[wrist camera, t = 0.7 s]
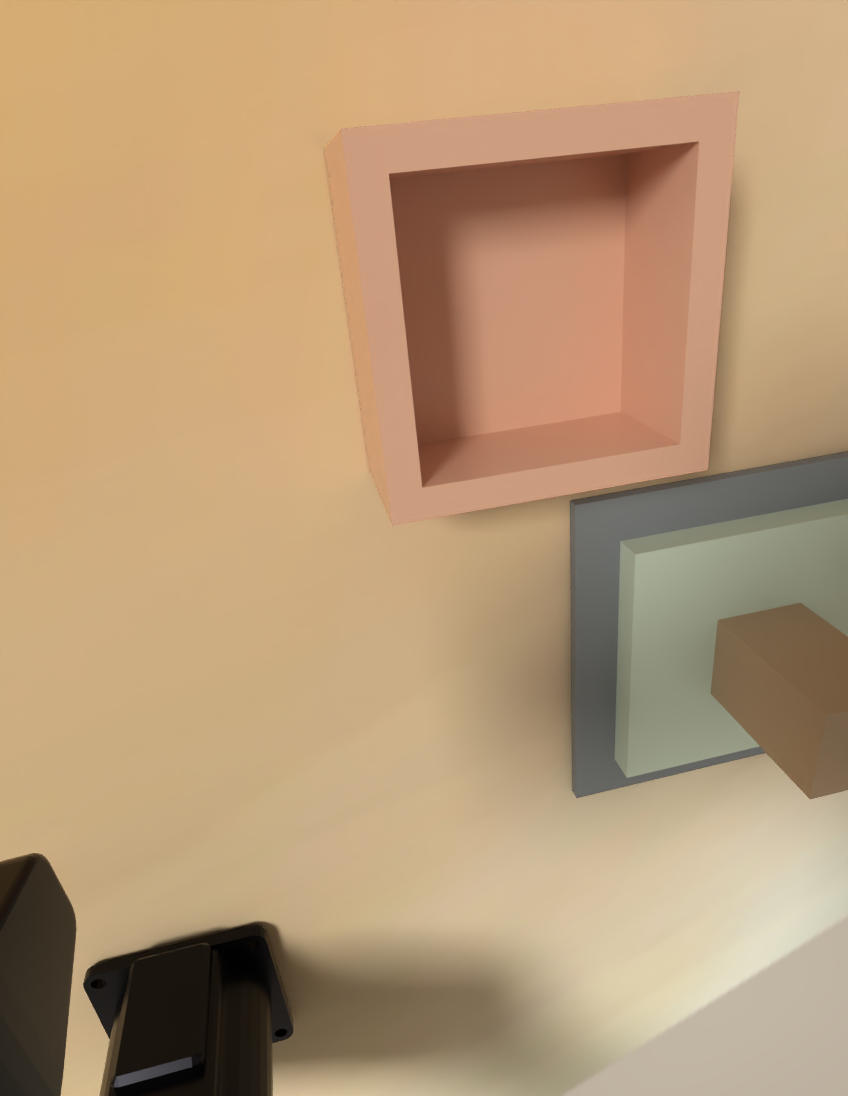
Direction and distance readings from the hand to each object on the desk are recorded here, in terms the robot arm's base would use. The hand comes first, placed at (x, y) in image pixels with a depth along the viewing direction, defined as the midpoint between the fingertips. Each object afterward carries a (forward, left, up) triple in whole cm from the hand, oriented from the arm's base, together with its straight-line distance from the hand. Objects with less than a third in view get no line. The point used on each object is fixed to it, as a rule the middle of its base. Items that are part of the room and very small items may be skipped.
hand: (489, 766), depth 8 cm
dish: (+3, -4, -13) cm, 14 cm away
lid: (-9, -12, -13) cm, 20 cm away
